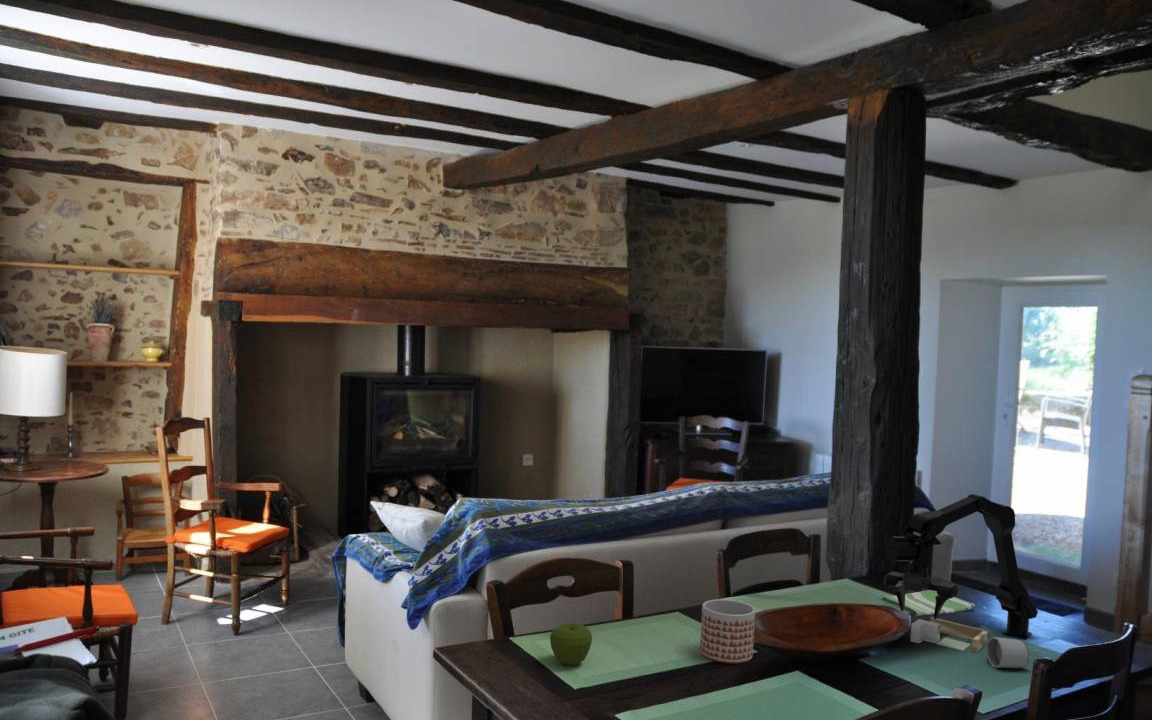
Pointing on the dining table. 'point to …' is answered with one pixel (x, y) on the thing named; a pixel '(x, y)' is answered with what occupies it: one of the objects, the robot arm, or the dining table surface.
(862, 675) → the dining table surface
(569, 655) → the apple
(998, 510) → the robot arm
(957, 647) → the pad
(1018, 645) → the ceramic mug
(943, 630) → the corner arena
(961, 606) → the dish towel
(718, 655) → the planter
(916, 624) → the bracket
